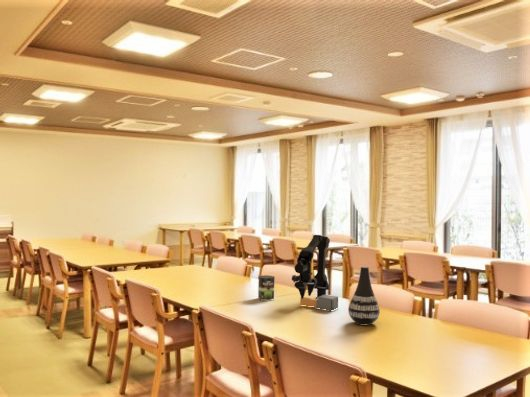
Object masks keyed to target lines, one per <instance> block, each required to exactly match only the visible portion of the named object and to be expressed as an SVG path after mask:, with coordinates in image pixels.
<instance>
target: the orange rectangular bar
mask: <svg viewBox="0 0 530 397" xmlns="http://www.w3.org/2000/svg"><path fill="white" fill-rule="evenodd" d="M299 300H300V301H299V304H300V305H306V306H314V307H316V299H315V298H313V297H312V298H311V297H305V296H304V298H303V299H302V298H301V297H300V298H299ZM300 305H299V306H300Z"/></svg>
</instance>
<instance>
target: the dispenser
mask: <svg viewBox="0 0 530 397" xmlns="http://www.w3.org/2000/svg"><path fill="white" fill-rule="evenodd" d="M316 308H320V309H326V310H334V309H336V308H338V309H339V296H336V295H331V294H330V295H329V294H326V295H322V296H320V297H318V298H317V299H316ZM316 308H315V309H316Z"/></svg>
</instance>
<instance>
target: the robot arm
mask: <svg viewBox="0 0 530 397" xmlns="http://www.w3.org/2000/svg"><path fill="white" fill-rule="evenodd" d="M330 244H331V239H330V238H329V237H328V236H324V235H321V234H313V236H312V238H311V240H310V242H309V243H308V244H307V246H305V247H304V248H302V249H301V250H300V251H299V254H298V258H297V259H296V260H297V263H296V264H295V265H294V271H295V273H297V274H299V275H296V274H294V275H291V281H293V283H294V284H293V286H294V287H295V288H296V289H297V290H298V291H299V294H300V298H302V299H303V298H304V297H305V294H306V290H307V293H308V294H307V295H308V296H309V297H310V296H311V295H312V293H313V291H314V289H316V298H318V297H320V296H322V295H327V291H328V290H330V283H329V281H328V276H327V275H326V273H325V272H326V258H327V255H326V254H327V249H329V246H330ZM316 248H317V252H318V255H317V268H316V270H317V271H316V274H315V275H313V272H312V263H313V258H314V256H315V255H314V252H315V251H316ZM312 275H313V278H312Z"/></svg>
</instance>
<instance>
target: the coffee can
mask: <svg viewBox="0 0 530 397" xmlns="http://www.w3.org/2000/svg"><path fill="white" fill-rule="evenodd" d="M257 288H258V289H257V292H258V293H257V295H258V296H257V299H258V300H259V299H261V300H260V301H263V300H270V301H272V300H271V299H274V300H275V276H274V275H259V276H258V287H257Z"/></svg>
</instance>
